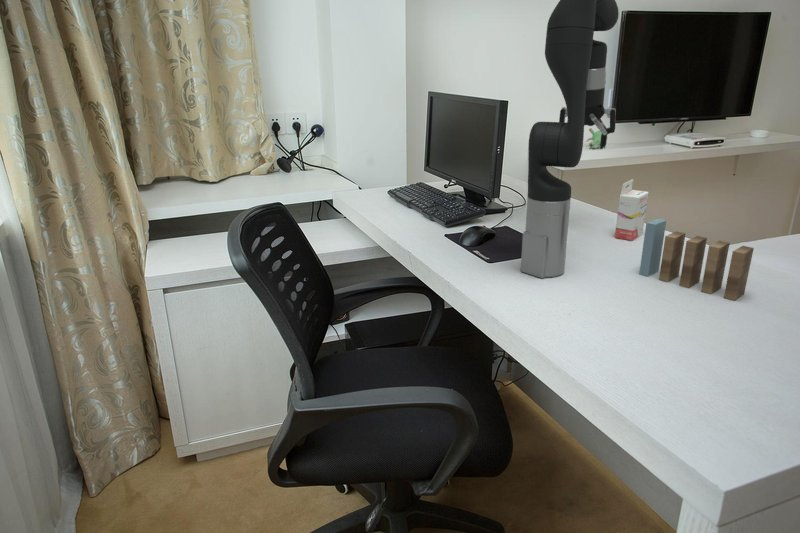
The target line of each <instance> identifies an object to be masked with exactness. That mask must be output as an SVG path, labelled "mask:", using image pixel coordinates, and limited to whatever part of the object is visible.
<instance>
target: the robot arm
mask: <svg viewBox="0 0 800 533" xmlns="http://www.w3.org/2000/svg"><path fill="white" fill-rule="evenodd" d="M619 13H620V12H619V7H618V4H617V2H616V0H559V1H558V2H557V4H556V6H555V7H554V8H553V10H552V11H551V14H550V16H549V19H548V22H547V25H546V35H545V45H544V57H545V61H546V63H547V66H548V69H549V70H550V72H551V74H552V76H553V79H554V80H555V81H556V84H557V86H558V87H559V89H560V91H561V94H562V97H563V99H564V103H565V105H566V107H565V106H562V107H561V109H560V112H559V119H558V120H559V121H556V122H555V121H538V122H535V123H534V124H533V125H532V127H531V129H530V132H529V138H528V148H527V149H528V153H527V154H528V156H527V157H528V161H527V162H528V167H527V172H528V173H527V196H526V197H527V199H526V211H525V212H526V213H525V214H526V215H525V228H524V230H525V231H523V233H522V239H521V240H522V242H521V244H522V245H521V258H520V272H521V273H522V272H523V273H524V274H529V275H531V276H534V277H538V278H540V279H544V278H553V277H555V278H556V277H559V276H561V275H563V274H564V273H565V265H566V257H567V256H566V254H567V245H568V243H567V242H568V235H569V234H568V232H569V223H570V222H569V221H570V220H569V219H570V212H571V211H570V210H571V200H572V199H571V198H572V186H571V185H570V184H569V183H568V182H567V181H565V180H562V179H560V178H558V177H556V175H553V174H552V172H550V171H549V170H548V169H547V167H552V168H553V167H556V168H576V166H578V165H579V163H580V161H581V158H582V154H583V148H584V134H585V133H584V132H585V126H588V127H593V126H596V128H597V129H598V131H601V133H602V134H601V143H600V146H599V149H600V150H603V149H604V147H607V146H606V145H607V141H608V135H609V134H614V133H615V130H616V121H617V120H616V116H617V115H616V114H617V109H616V108H615V107H611V108H605V106H604V104H605V102H604V101H605V91H606V83H607V82H606V81H607V79H606V78H607V71H606V68H607V67H606V66H607V55H608V45H607V42H604V41H601V40H595V39H594V34H595V32H607V31H609V30H612V29H613V28H614V27H615V25H617V22H618V19H619V15H620V14H619ZM605 114H606V117H607V118H609V127H606V125H605V123H604V122H603V120H602V119H601V118H602V117H604V116H605ZM566 118H567V121H566ZM565 121H566V122H565Z"/></svg>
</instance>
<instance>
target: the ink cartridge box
mask: <svg viewBox="0 0 800 533" xmlns="http://www.w3.org/2000/svg"><path fill="white" fill-rule="evenodd" d="M634 181H635V179H634V178H631V179H630V180H628V181H626V182H624V183H622V185H621V188H620V189H621V190H620V194H619V200H618V201H619V202H618V209H617V216H616V225H615V233H614V238H615V239H621V240H626V241H631V242H632V241H634V240H635V239H637V238H638V237H640V236H641V235H643V234H642V233H644V226H645V219H646V213H647V208H648V199H649V193H650V191H644V190H637V189H633V186H634ZM627 186H628V187H627Z"/></svg>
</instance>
